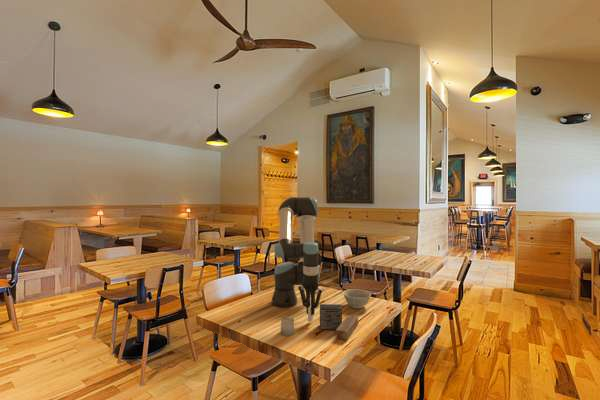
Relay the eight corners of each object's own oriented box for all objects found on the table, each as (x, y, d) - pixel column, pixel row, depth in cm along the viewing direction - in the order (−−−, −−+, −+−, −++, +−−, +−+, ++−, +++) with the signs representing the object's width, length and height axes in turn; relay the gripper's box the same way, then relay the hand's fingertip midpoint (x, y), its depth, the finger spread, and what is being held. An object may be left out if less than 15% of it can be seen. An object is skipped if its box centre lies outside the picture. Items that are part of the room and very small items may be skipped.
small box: (341, 324, 145) (341, 303, 145) (342, 331, 138) (342, 308, 138) (319, 324, 145) (319, 303, 145) (319, 330, 139) (319, 308, 139)
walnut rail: (336, 338, 131) (336, 329, 131) (348, 322, 147) (348, 314, 147) (347, 341, 129) (347, 332, 129) (357, 324, 145) (357, 316, 145)
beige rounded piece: (278, 334, 134) (278, 321, 134) (284, 329, 140) (284, 316, 140) (290, 337, 132) (290, 324, 132) (295, 331, 138) (296, 318, 138)
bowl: (350, 299, 180) (350, 287, 180) (375, 304, 171) (375, 292, 171) (338, 307, 167) (338, 294, 167) (364, 313, 158) (364, 300, 158)
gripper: (295, 274, 145) (295, 321, 146) (320, 277, 140) (319, 326, 140) (301, 270, 152) (301, 315, 153) (325, 273, 147) (325, 320, 147)
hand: (310, 320), depth 147 cm, fingers closed
